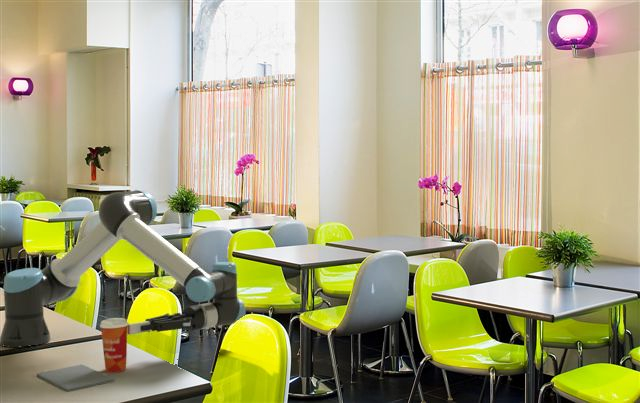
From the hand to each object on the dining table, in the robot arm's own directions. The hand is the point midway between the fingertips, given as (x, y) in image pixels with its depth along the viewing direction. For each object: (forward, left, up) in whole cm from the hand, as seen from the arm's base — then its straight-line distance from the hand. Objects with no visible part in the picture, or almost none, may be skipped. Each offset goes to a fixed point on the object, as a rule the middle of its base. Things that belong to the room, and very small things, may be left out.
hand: (128, 329), depth 218 cm
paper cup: (-1, -4, -11) cm, 12 cm away
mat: (-1, -16, -11) cm, 19 cm away
